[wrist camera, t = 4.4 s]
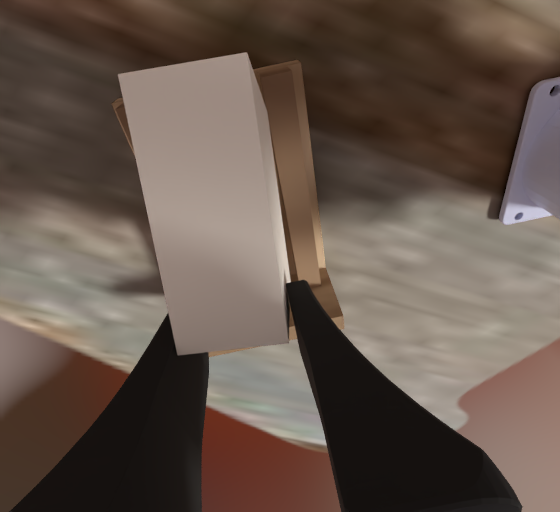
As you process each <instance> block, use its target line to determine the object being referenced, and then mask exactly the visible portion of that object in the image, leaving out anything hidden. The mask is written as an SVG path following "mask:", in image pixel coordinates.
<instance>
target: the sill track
mask: <svg viewBox="0 0 560 512" xmlns="http://www.w3.org/2000/svg"><path fill="white" fill-rule="evenodd" d="M253 71H254V74H255V77H256V80H257V83H258V86H259V89H260V92H261V95H262V98H263V101H264V104H265V107H266V110H267V113H268V120H269V127H270V135H271V142H272V149H273V156H274V164H275V171H276V178H277V186H278V193H279V200H280V207H281V215H282V222H283V229H284V237H285V244H286V251H287V258H288V266H289V273H290V280H291V282H294V281H299V280H306V281H307V282H308V284H309V286H310V288H311V290H312V292H313V293H314V295H315V297H316V298H317V300H318V301H319V303H320V304H321V306H322V307H323V309H324V310H325V311H326V313H327V314H328V315H329V317H330V318H331V319H332V320H333V322H334V323H335V324H336V326H337V327H338V328H339V329H340V330H341V329H344V319H343V314H342V311H341V308H340V306H339V303H338V300H337V297H336V295H335V292H334V289H333V286H332V284H331V281H330V278H329V276H328V273H327V270H326V266H325V258H324V250H323V241H322V233H321V225H320V216H319V208H318V200H317V191H316V183H315V175H314V166H313V158H312V149H311V141H310V133H309V124H308V116H307V108H306V99H305V91H304V83H303V74H302V66H301V62H300V61H298V60H294V61H289V62H285V63H280V64H275V65H271V66H266V67H262V68H257V69H253ZM111 104H112V107H113V109H114V111H115V113H116V116H117V118H118V120H119V122H120V125H121V127H122V129H123V131H124V134H125V136H126V138H127V140H128V143H129V145H130V147H131V149H132V152H133V154H134V156H135V153H134V148H133V144H132V139H131V134H130V129H129V125H128V120H127V115H126V111H125V106H124V101H123V98H119V99H117V100H115V101H114V102H113V103H111ZM293 339H297V335H296V330H295V325H294V321H293V316H292V312H291V307H290V321H289V340H293ZM258 347H260V346H258ZM250 348H255V347H249V348H240V349H231V350H222V351H213V352H209V357H212V356H216V355H221V354H226V353H231V352H236V351H240V350H245V349H250Z"/></svg>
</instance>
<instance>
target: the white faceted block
mask: <svg viewBox="0 0 560 512" xmlns="http://www.w3.org/2000/svg"><path fill="white" fill-rule="evenodd" d="M118 78H119V82H120V87H121V92H122V96H123V101H124V106H125V111H126V115H127V120H128V125H129V129H130V134H131V139H132V144H133V148H134V153H135V158H136V162H137V167H138V172H139V176H140V181H141V186H142V191H143V195H144V200H145V205H146V209H147V214H148V219H149V224H150V228H151V233H152V238H153V242H154V247H155V252H156V257H157V261H158V266H159V271H160V275H161V280H162V285H163V290H164V294H165V299H166V304H167V308H168V313H169V318H170V322H171V327H172V332H173V337H174V341H175V346H176V351H177V355H187V354H195V353H204V352H213V351H222V350H231V349H240V348H249V347H258V346H267V345H276V344H285V343H289V321H290V303H289V298H288V293H287V288H286V283H290V282H291V280H290V273H289V266H288V258H287V251H286V244H285V237H284V229H283V222H282V215H281V207H280V200H279V193H278V186H277V178H276V171H275V164H274V156H273V149H272V142H271V135H270V127H269V120H268V113H267V110H266V107H265V104H264V101H263V98H262V95H261V92H260V89H259V86H258V83H257V80H256V77H255V74H254V71H253V68H252V65H251V62H250V59H249V56H248V53H247V52H245V53H240V54H234V55H228V56H222V57H216V58H210V59H204V60H198V61H192V62H186V63H181V64H175V65H169V66H163V67H157V68H151V69H145V70H139V71H133V72H127V73H122V74H118Z"/></svg>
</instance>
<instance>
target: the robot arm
mask: <svg viewBox="0 0 560 512" xmlns="http://www.w3.org/2000/svg"><path fill="white" fill-rule="evenodd" d="M554 86H555V88H554V90H553V92H552V93H551V94H550V91H551V89H552V88H553V87H554ZM516 214H517V215H516ZM515 215H516V216H515ZM551 215H554V216H555V217H557V218H558V219H560V77H556V78H551V79H547V80H542V81H540V82H538V83H537V84H536V85H534V87H533V88H532V89H531V92H530V95H529V99H528V103H527V107H526V111H525V115H524V119H523V123H522V127H521V131H520V135H519V139H518V143H517V146H516V150H515V154H514V158H513V162H512V166H511V170H510V174H509V178H508V182H507V186H506V190H505V194H504V198H503V202H502V206H501V210H500V214H499V220H500V222H502V223H503V224H505V225H508V224H513V223H518V222H523V221H527V220H532V219H537V218H542V217H546V216H551ZM286 288H287V293H288V298H289V303H290V307H291V312H292V316H293V321H294V325H295V330H296V335H297V339H298V344H299V348H300V353H301V356H302V359H303V362H304V366H305V369H306V372H307V375H308V379H309V382H310V385H311V388H312V392H313V395H314V398H315V401H316V405H317V408H318V411H319V415H320V418H321V422H322V426H323V430H324V434H325V439H326V443H327V448H328V453H329V457H330V461H331V466H332V471H333V475H334V480H335V485H336V489H337V493H338V498H339V503H340V508H341V512H521V510H522V505H521V503H520V502H519V500H518V498H517V496H516V494H515V492H514V490H513V489H512V487H511V486H510V484H509V483H508V482H507V480H506V479H505V477H504V476H503V475H502V473H501V472H500V471H499V469H498V468H497V467H496V465H495V464H494V463H493V462H492V460H491V459H490V458H489V457H488V455H487V454H486V453H485V452H484V451H483V450H482V449H481V448H480V447H478V446H477V445H475V444H474V443H472V442H471V441H469V440H468V439H466V438H465V437H463V436H462V435H460V434H459V433H457V432H456V431H455V430H453V429H452V428H450V427H449V426H447V425H446V424H445V423H443V422H442V421H440V420H439V419H438V418H436V417H435V416H434V415H432V414H431V413H430V412H428V411H427V410H426V409H424V408H423V407H422V406H420V405H419V404H418V403H417V402H415V401H414V400H413V399H412V398H411V397H409V396H408V395H407V394H406V393H404V392H403V391H402V390H401V389H400V388H398V387H397V386H396V385H395V384H393V383H392V382H391V381H390V380H389V379H388V378H387V377H386V376H384V375H383V374H382V373H381V372H380V371H379V370H378V369H377V368H376V367H375V366H374V365H373V364H372V363H371V362H369V361H368V360H367V359H366V358H365V357H364V356H363V355H362V354H361V353H360V352H359V350H358V349H357V348H356V347H355V346H354V345H353V344H352V343H351V342H350V341H349V340H348V338H347V337H346V336H345V335H344V334H343V333H342V332H341V330H340V329H339V328H338V327H337V326H336V324H335V323H334V322H333V320H332V319H331V318H330V317H329V315H328V314H327V313H326V311H325V310H324V309H323V307H322V306H321V304H320V303H319V301H318V300H317V298H316V297H315V295H314V293H313V292H312V290H311V288H310V286H309V284H308V282H307V281H306V280H299V281H294V282H290V283H286ZM208 377H209V352H204V353H195V354H187V355H177V351H176V346H175V341H174V337H173V332H172V327H171V322H170V318H169V313H168V314H167V316H166V317H165V319H164V321H163V322H162V324H161V326H160V327H159V329H158V331H157V332H156V334H155V336H154V337H153V339H152V341H151V342H150V344H149V346H148V347H147V349H146V350H145V352H144V354H143V355H142V357H141V358H140V360H139V362H138V363H137V365H136V366H135V368H134V369H133V371H132V372H131V374H130V375H129V376H128V378H127V379H126V381H125V382H124V384H123V385H122V387H121V388H120V390H119V391H118V392H117V394H116V395H115V396H114V398H113V399H112V401H111V402H110V403H109V404H108V406H107V407H106V408H105V410H104V411H103V412H102V413H101V415H100V416H99V417H98V418H97V420H96V421H95V422H94V423H93V425H92V426H91V427H90V428H89V429H88V431H87V432H86V433H85V434H84V435H83V436H82V437H81V438H80V439H79V441H78V442H77V443H76V444H75V445H74V446H73V447H72V448H71V450H70V451H69V452H68V453H67V454H66V455H65V456H64V457H63V458H62V460H61V461H60V462H59V463H58V464H57V465H56V466H55V467H54V468H53V469H52V470H51V471H50V472H49V473H48V474H47V475H46V476H45V477H44V478H43V479H42V480H41V481H40V482H39V484H37V486H36V487H34V488H33V489H32V491H30V493H28V494H27V495H26V496H25V497H24V498H23V499H22V500H21V501H20V502H19V503H18V504H17V505H16V506H15V507H14V508H13V509H12V510H11V511H10V512H202V501H201V453H202V438H203V428H204V417H205V408H206V398H207V388H208Z"/></svg>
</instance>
